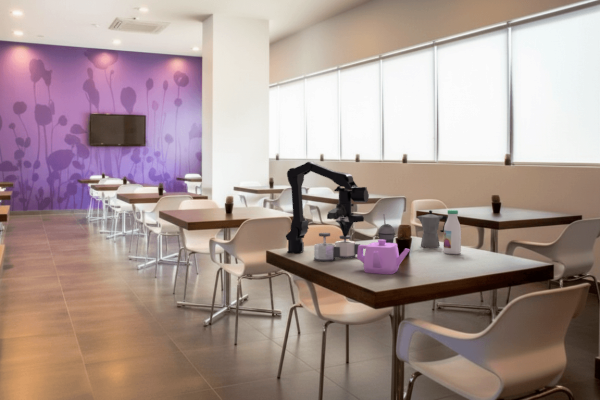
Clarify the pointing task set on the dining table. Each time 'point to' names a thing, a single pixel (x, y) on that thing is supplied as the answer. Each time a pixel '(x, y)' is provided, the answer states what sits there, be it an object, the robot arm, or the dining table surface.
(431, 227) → the coffeepot
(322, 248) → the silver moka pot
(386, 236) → the beverage cup
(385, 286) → the dining table surface
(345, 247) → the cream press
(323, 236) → the steel plunger
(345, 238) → the cream plunger
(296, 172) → the robot arm
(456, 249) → the milk bottle
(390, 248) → the teakettle
